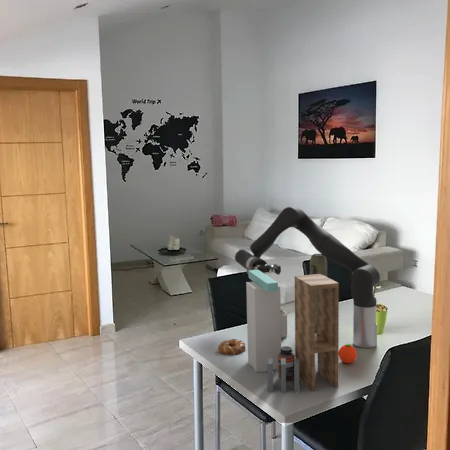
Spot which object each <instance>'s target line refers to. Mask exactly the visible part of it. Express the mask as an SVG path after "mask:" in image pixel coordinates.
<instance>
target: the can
mask: <svg viewBox="0 0 450 450" xmlns="http://www.w3.org/2000/svg"><path fill="white" fill-rule="evenodd" d="M287 335H288V313H287V312H286V309H284V308H281V339H285V338H286V336H287Z"/></svg>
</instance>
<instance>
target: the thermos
mask: <svg viewBox="0 0 450 450" xmlns="http://www.w3.org/2000/svg"><path fill="white" fill-rule="evenodd" d="M327 260H328V259H327V258H326V257H324V256H323V255H322V254H321V253H314V254H311V257H310V259H309V275H313V274H322V275H324V276H326V277H328V261H327ZM315 334H317V290H315Z"/></svg>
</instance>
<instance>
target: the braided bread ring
mask: <svg viewBox="0 0 450 450" xmlns="http://www.w3.org/2000/svg"><path fill="white" fill-rule="evenodd" d="M245 351H246V343H245V342H244V341H243V340H239V339H238V338H232V339H226V340H223V341H222V342H220V344H219V345H218V349H217V352H218V353H220V354H222V355H229V356H231V355H240V354H241V353H243V352H245Z"/></svg>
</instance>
